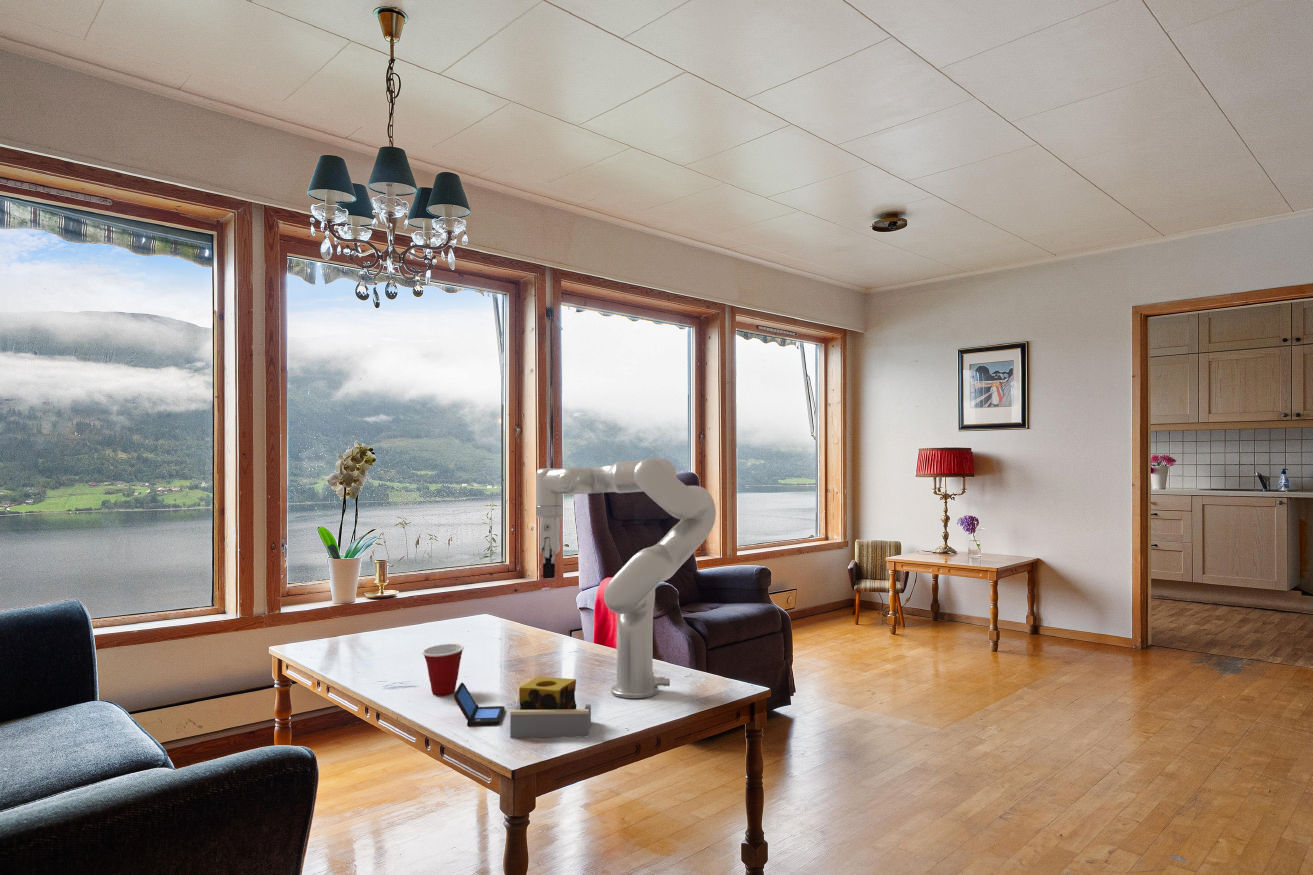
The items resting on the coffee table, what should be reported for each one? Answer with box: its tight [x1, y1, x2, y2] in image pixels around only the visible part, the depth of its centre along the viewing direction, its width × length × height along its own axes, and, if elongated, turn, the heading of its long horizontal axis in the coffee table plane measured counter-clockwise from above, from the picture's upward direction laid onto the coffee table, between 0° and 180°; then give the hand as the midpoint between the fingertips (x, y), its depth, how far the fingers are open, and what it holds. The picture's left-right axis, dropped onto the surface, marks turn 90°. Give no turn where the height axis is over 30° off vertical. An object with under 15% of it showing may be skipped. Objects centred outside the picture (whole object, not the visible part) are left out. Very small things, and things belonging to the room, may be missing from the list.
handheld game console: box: [452, 682, 506, 727], centre depth 183 cm, size 12×11×7 cm
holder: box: [509, 703, 592, 739], centre depth 175 cm, size 17×10×6 cm, turn 92°
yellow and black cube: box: [518, 676, 578, 710], centre depth 177 cm, size 10×10×10 cm
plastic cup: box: [421, 643, 465, 697], centre depth 204 cm, size 11×11×12 cm
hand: (548, 577), depth 215 cm, fingers closed
